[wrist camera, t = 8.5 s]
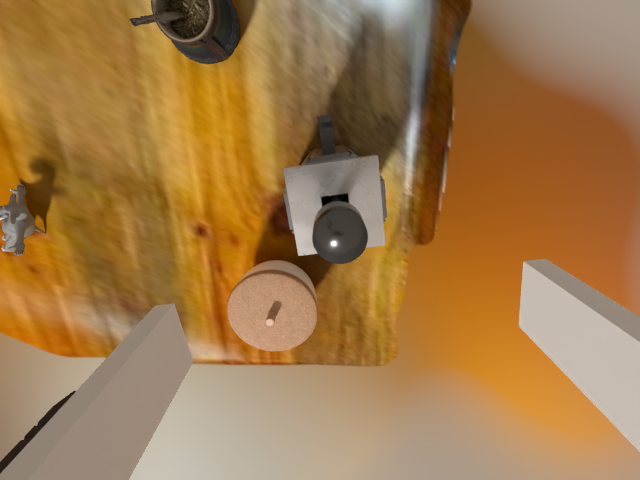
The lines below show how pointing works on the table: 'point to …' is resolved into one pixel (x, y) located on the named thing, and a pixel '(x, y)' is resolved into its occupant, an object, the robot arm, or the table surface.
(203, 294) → the table surface
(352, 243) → the plunger
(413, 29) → the table surface
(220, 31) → the mate gourd
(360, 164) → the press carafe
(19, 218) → the grey animal figurine
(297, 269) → the lidded jar
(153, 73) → the table surface
